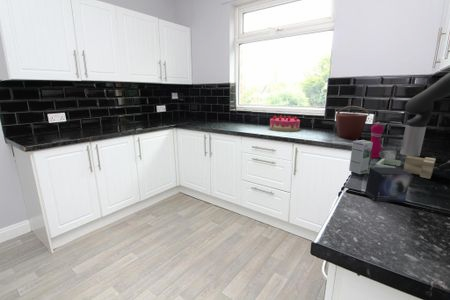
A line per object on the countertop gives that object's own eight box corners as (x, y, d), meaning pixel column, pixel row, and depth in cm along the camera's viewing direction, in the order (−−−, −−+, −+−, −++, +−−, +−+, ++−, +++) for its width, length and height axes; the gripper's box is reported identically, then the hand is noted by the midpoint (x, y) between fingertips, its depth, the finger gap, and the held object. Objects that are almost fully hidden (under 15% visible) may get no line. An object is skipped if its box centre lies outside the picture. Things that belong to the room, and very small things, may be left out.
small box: (374, 202, 78) (380, 173, 76) (363, 194, 85) (368, 166, 82) (406, 202, 78) (412, 173, 76) (392, 194, 85) (398, 167, 82)
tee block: (405, 168, 114) (408, 154, 113) (432, 173, 107) (435, 158, 106) (401, 173, 107) (404, 158, 106) (430, 178, 101) (433, 163, 99)
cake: (266, 127, 240) (266, 114, 237) (292, 127, 243) (293, 114, 240) (274, 131, 213) (275, 117, 210) (304, 131, 216) (305, 118, 213)
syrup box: (359, 174, 104) (364, 143, 101) (348, 170, 110) (352, 140, 106) (368, 173, 107) (373, 142, 103) (356, 169, 112) (361, 139, 108)
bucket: (372, 139, 183) (377, 107, 177) (350, 141, 176) (355, 107, 170) (346, 134, 206) (350, 105, 199) (326, 135, 198) (330, 105, 192)
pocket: (382, 162, 123) (383, 157, 122) (400, 165, 118) (401, 161, 117) (374, 169, 112) (375, 164, 112) (393, 173, 107) (394, 167, 107)
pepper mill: (362, 155, 136) (367, 121, 131) (370, 154, 139) (376, 120, 134) (374, 158, 130) (380, 122, 125) (382, 157, 132) (389, 122, 128)
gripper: (480, 136, 96) (434, 158, 107) (482, 141, 87) (431, 165, 98) (496, 151, 94) (447, 172, 105) (499, 157, 85) (445, 180, 96)
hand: (439, 168), depth 102 cm, fingers closed
